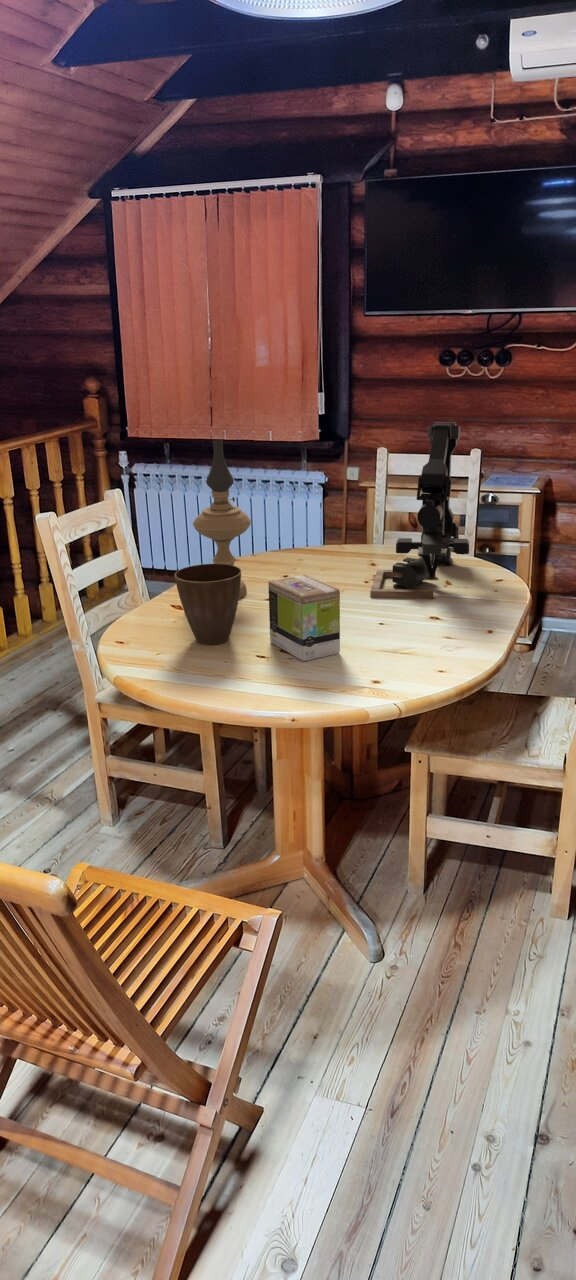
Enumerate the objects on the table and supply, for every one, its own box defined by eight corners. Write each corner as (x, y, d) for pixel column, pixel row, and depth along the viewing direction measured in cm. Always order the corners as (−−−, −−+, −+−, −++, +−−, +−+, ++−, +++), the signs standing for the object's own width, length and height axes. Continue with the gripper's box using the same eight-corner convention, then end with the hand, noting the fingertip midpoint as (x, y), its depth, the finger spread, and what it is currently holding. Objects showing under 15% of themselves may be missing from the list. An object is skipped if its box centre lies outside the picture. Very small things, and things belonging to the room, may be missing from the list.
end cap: (415, 591, 245) (416, 566, 243) (391, 588, 249) (391, 563, 246) (432, 582, 253) (432, 557, 250) (408, 578, 257) (408, 554, 254)
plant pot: (172, 650, 210) (166, 581, 204) (187, 627, 223) (183, 562, 218) (237, 651, 208) (234, 582, 202) (249, 629, 221) (246, 563, 216)
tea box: (341, 653, 205) (341, 588, 200) (302, 663, 200) (300, 596, 195) (306, 634, 217) (305, 572, 212) (268, 642, 213) (266, 579, 208)
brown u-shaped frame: (377, 575, 260) (377, 569, 260) (435, 576, 258) (435, 570, 257) (370, 597, 242) (370, 591, 241) (433, 598, 239) (433, 592, 239)
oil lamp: (264, 595, 245) (259, 440, 231) (214, 606, 238) (205, 447, 224) (236, 582, 257) (229, 434, 244) (187, 592, 250) (177, 440, 236)
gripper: (394, 526, 236) (394, 586, 242) (470, 527, 233) (468, 587, 238) (397, 516, 247) (396, 574, 252) (469, 517, 243) (467, 575, 249)
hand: (431, 577), depth 247 cm, fingers closed
